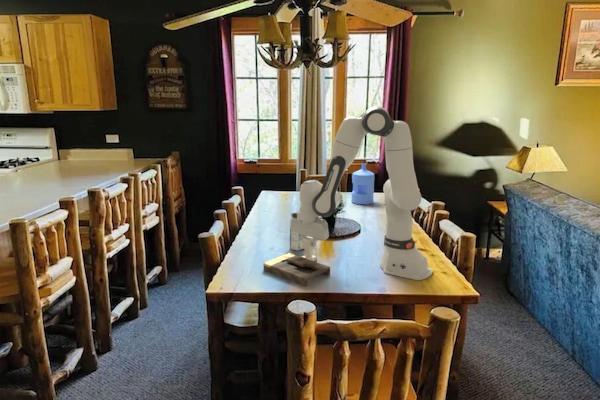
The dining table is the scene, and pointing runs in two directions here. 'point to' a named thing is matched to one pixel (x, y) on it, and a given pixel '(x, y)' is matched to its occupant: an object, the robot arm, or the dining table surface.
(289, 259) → the keyhole plate
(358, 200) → the water jug
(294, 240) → the syrup box
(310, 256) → the keyed peg
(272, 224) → the dining table surface
